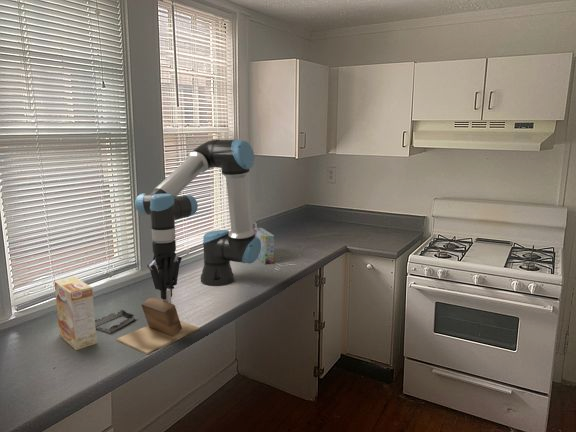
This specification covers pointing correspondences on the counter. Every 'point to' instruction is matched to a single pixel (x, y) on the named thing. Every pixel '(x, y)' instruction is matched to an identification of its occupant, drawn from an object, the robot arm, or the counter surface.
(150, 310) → the walnut slab
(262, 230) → the snack box
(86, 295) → the coffeecake box
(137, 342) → the light wood board
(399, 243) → the counter surface
